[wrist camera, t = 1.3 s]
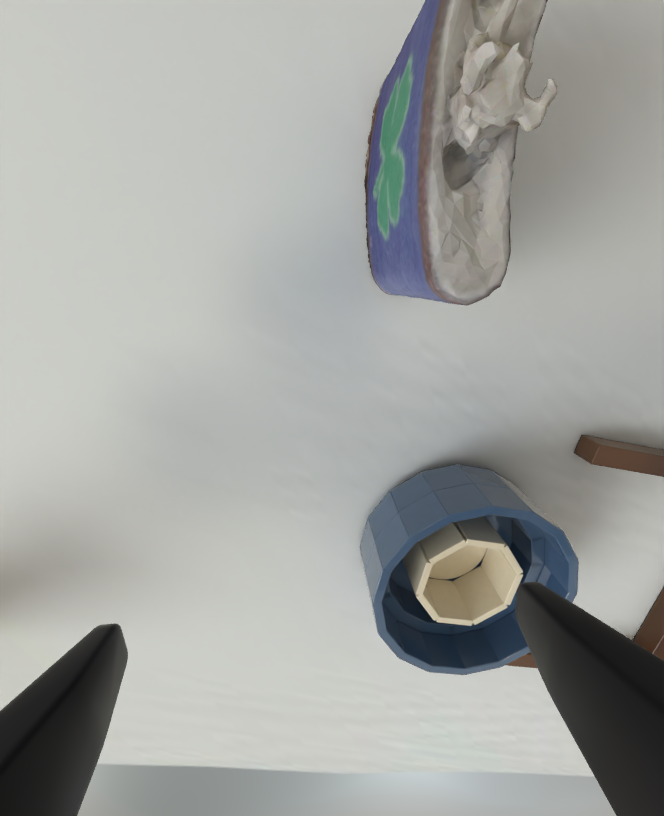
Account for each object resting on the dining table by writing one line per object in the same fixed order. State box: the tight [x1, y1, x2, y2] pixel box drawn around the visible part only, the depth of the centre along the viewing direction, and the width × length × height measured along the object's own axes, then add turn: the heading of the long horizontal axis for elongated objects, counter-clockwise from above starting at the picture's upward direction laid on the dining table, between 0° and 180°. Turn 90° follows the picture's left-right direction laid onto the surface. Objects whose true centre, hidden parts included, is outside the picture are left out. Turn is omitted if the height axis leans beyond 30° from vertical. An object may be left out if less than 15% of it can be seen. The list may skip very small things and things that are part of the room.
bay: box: [506, 435, 664, 668], centre depth 25 cm, size 12×16×2 cm
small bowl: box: [402, 516, 523, 626], centre depth 22 cm, size 6×6×3 cm
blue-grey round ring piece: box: [360, 464, 578, 675], centre depth 22 cm, size 11×11×5 cm
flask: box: [364, 0, 557, 305], centre depth 13 cm, size 9×3×11 cm, turn 178°
